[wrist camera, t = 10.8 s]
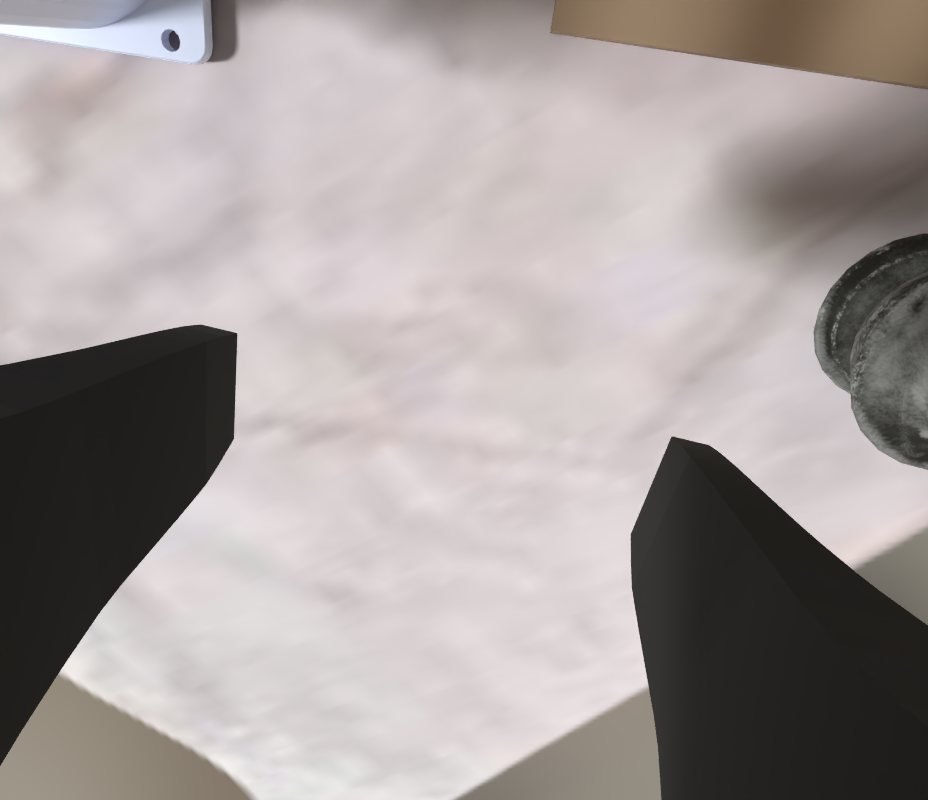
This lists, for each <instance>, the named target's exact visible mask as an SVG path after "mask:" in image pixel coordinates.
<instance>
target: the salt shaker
mask: <svg viewBox="0 0 928 800" xmlns="http://www.w3.org/2000/svg"><path fill="white" fill-rule="evenodd" d="M814 342H815V353H816V355H817V358H818V360H819V363H820V365H821V367H822V370H823V371H824V372H825V373H826V374H827V375H828V376H829V378H830V379H831V380H832V381H833V382H834V383H835V384H836V385H837V386H838V387H840V388H841V389H843V390H845V391H847V392H848V393H850V394H851V407H852V410H853V413H854V415H855V418H856V420H857V423H858V425H859V427H860V430H861V431H862V432H863V433H864V435H865V436H866V437H867V438H868V439H869V440H870V441H871V442H872V443H873V444H874V446H875V447H876V448H877V449H878V450H879V451H881V452H883V453H885V454H886V455H888V456H890V457H892V458H893V459H895V460H897V461H899V462H900V463H904V464H908V465H911V466H915V467H919V468H923V469H927V470H928V234H920V235H916V236H912V237H908V238H904V239H899V240H896V241H893V242H891V243H889V244H887V245H885V246H883V247H881V248H879V249H876V250H874V251H872V252H870V253H869V254H867V255H866V256H865V257H863V258H862V259H861V260H859V261H858V262H857V263H855V264H854V265H853V266H851V267H850V268H849V269H848V270H847V271H846V272H845V273H844V274H843V275H842V276H841V278H840V279H839V280H838V281H837V282H836V283H835V284H834V286H833V287H832V288H831V289H830V291H829V293H828V294H827V296H826V298H825V300H824V302H823V304H822V306H821V308H820V309H819V312H818V316H817V321H816V325H815V329H814Z"/></svg>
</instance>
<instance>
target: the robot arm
mask: <svg viewBox="0 0 928 800" xmlns="http://www.w3.org/2000/svg"><path fill="white" fill-rule="evenodd" d="M172 31H175V32H176V34H177V35H178V36H179V39H180V48H179V49H178V50H177V51H175V50H174V49H173V48H172V47H171V46H170V43H169V34H170V33H171V32H172ZM0 35H5V36H11V37H18V38H24V39H31V40H37V41H44V42H50V43H57V44H63V45H70V46H76V47H83V48H89V49H95V50H102V51H108V52H115V53H121V54H128V55H134V56H141V57H147V58H154V59H160V60H167V61H173V62H180V63H186V64H203V63H205V62H206V61H208V60H209V58H210V56H211V55H212V49H213V41H212V20H211V0H0ZM236 356H237V333H234V332H230V331H226V330H221V329H217V328H213V327H209V326H204V325H192V326H184V327H178V328H173V329H168V330H163V331H158V332H154V333H149V334H145V335H141V336H136V337H132V338H128V339H123V340H119V341H115V342H110V343H106V344H102V345H98V346H93V347H89V348H85V349H80V350H76V351H71V352H66V353H61V354H56V355H51V356H46V357H41V358H36V359H31V360H26V361H21V362H16V363H11V364H6V365H0V765H1V764H2V762H3V760H4V759H5V757H6V755H7V754H8V752H9V751H10V749H11V747H12V746H13V744H14V742H15V741H16V739H17V737H18V736H19V734H20V732H21V731H22V729H23V728H24V726H25V725H26V723H27V721H28V720H29V718H30V717H31V715H32V714H33V712H34V711H35V709H36V707H37V706H38V704H39V703H40V701H41V700H42V698H43V696H44V695H45V693H46V692H47V690H48V689H49V687H50V686H51V684H52V682H53V681H54V679H55V678H56V676H57V675H58V673H59V672H60V670H61V669H62V667H63V666H64V664H65V663H66V661H67V660H68V658H69V657H70V655H71V654H72V652H73V651H74V649H75V648H76V647H77V645H78V644H79V642H80V641H81V639H82V638H83V636H84V635H85V633H86V632H87V630H88V629H89V627H90V626H91V625H92V623H93V622H94V620H95V619H96V617H97V616H98V614H99V613H100V611H101V610H102V609H103V607H104V606H105V605H106V604H107V602H108V601H109V600H110V598H111V597H112V596H113V595H114V593H115V592H116V591H117V589H118V588H119V587H120V586H121V584H122V583H123V582H124V581H125V580H126V579H127V577H128V576H129V575H130V574H131V573H132V572H133V570H134V569H135V568H136V567H137V566H138V564H139V563H140V562H141V561H142V560H143V559H144V557H145V556H146V555H147V554H148V553H149V552H150V550H151V549H152V548H153V547H154V546H155V545H156V543H157V542H158V541H159V540H160V539H161V538H162V536H163V535H164V534H165V533H166V532H167V531H168V529H169V528H170V527H171V526H172V525H173V523H174V522H175V521H176V520H177V519H178V518H179V516H180V515H181V514H182V513H183V512H184V510H185V509H186V508H187V507H188V506H189V504H190V503H191V502H192V501H193V500H194V498H195V497H196V496H197V495H198V494H199V492H200V491H201V490H202V489H203V487H204V486H205V485H206V483H207V482H208V480H209V479H210V477H211V476H212V474H213V473H214V471H215V469H216V468H217V466H218V465H219V463H220V461H221V460H222V458H223V456H224V455H225V453H226V451H227V450H228V448H229V446H230V444H231V443H232V441H233V439H234V417H235V386H236ZM631 574H632V591H633V597H634V604H635V610H636V616H637V622H638V628H639V634H640V639H641V645H642V651H643V656H644V662H645V668H646V673H647V679H648V685H649V691H650V696H651V702H652V707H653V713H654V720H655V727H656V735H657V743H658V752H659V767H660V783H661V798H662V800H928V625H926V624H925V623H923V622H922V621H920V620H919V619H918V618H917V617H915V616H914V615H912V614H911V613H910V612H908V611H907V610H905V609H904V608H903V607H901V606H900V605H898V604H897V603H896V602H894V601H893V600H891V599H890V598H889V597H887V596H886V595H885V594H883V593H882V592H880V591H879V590H878V589H877V588H875V587H874V586H873V585H871V584H870V583H869V582H867V581H866V580H865V579H864V578H862V577H861V576H860V575H859V574H857V573H856V572H855V571H854V570H852V569H851V568H850V567H849V566H848V565H846V564H845V563H844V562H843V561H841V560H840V559H839V558H838V557H837V556H835V555H834V554H833V553H832V552H831V551H829V550H828V549H827V548H826V547H825V546H823V545H822V544H821V543H820V542H819V541H817V540H816V539H815V538H814V537H813V536H812V535H811V534H809V533H808V532H807V531H806V530H805V529H804V528H803V527H801V526H800V525H799V524H798V523H797V522H796V521H795V520H794V519H793V518H791V517H790V516H789V515H788V514H787V513H786V512H785V511H784V510H783V509H782V508H780V507H779V506H778V505H777V504H776V503H775V502H774V501H773V500H772V499H771V498H770V497H768V496H767V495H766V494H765V493H764V492H763V491H762V490H761V489H760V488H759V487H758V486H757V485H755V484H754V483H753V482H752V481H751V480H750V479H749V478H748V477H747V476H746V475H745V474H744V473H742V472H741V471H740V470H739V469H738V468H737V467H736V466H735V465H734V464H732V463H731V462H730V461H729V460H728V459H727V458H725V457H724V456H723V455H722V454H721V453H719V452H718V451H717V450H715V449H714V448H712V447H711V446H709V445H706V444H701V443H697V442H693V441H689V440H685V439H680V438H676V437H671V439H670V442H669V444H668V447H667V449H666V451H665V454H664V456H663V459H662V461H661V463H660V466H659V468H658V471H657V473H656V475H655V478H654V480H653V483H652V485H651V487H650V490H649V492H648V495H647V497H646V499H645V502H644V504H643V507H642V509H641V511H640V514H639V516H638V518H637V521H636V523H635V526H634V528H633V530H632V533H631Z"/></svg>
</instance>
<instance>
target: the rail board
mask: <svg viewBox="0 0 928 800" xmlns="http://www.w3.org/2000/svg"><path fill="white" fill-rule="evenodd" d="M550 33H555V34H561V35H568V36H575V37H581V38H588V39H595V40H601V41H608V42H615V43H621V44H628V45H635V46H641V47H648V48H655V49H661V50H668V51H675V52H681V53H688V54H695V55H701V56H708V57H715V58H722V59H728V60H735V61H742V62H748V63H755V64H762V65H768V66H775V67H782V68H788V69H795V70H802V71H808V72H815V73H822V74H828V75H835V76H842V77H848V78H855V79H862V80H868V81H875V82H882V83H888V84H895V85H902V86H909V87H915V88H922V89H928V0H556V2H555V8H554V14H553V20H552V26H551V32H550Z"/></svg>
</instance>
